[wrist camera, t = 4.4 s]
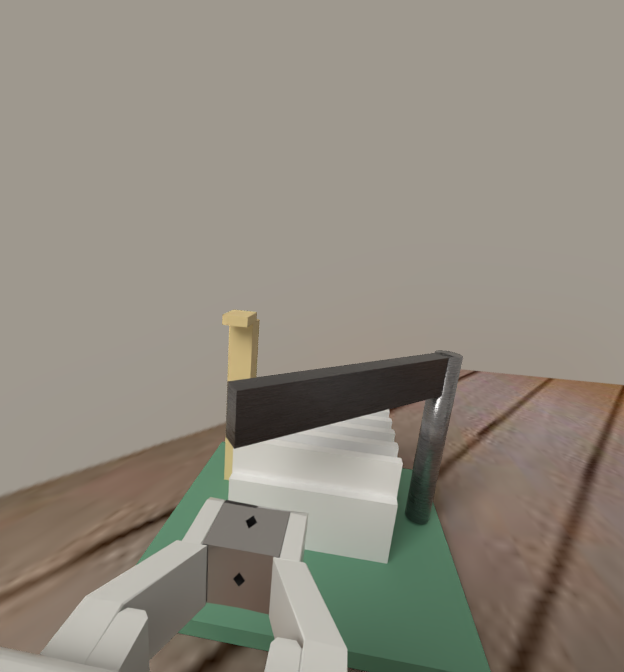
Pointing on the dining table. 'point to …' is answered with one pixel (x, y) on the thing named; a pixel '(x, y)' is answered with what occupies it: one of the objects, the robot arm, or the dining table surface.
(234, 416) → the retention bar
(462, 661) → the board
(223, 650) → the dining table surface
